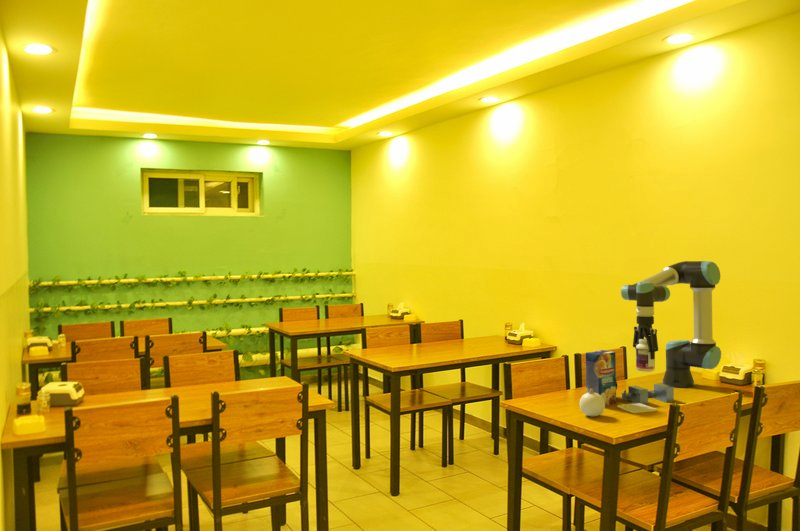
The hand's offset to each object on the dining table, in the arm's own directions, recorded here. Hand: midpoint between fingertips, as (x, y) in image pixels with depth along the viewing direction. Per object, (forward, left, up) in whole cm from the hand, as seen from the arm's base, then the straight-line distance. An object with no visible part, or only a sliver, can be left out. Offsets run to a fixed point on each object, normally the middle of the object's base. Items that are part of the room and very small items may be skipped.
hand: (645, 364), depth 297 cm
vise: (-3, -6, -18) cm, 19 cm away
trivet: (+10, +7, -18) cm, 22 cm away
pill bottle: (0, 0, -3) cm, 3 cm away
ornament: (+35, +11, -18) cm, 41 cm away
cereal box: (+19, -7, -18) cm, 27 cm away
